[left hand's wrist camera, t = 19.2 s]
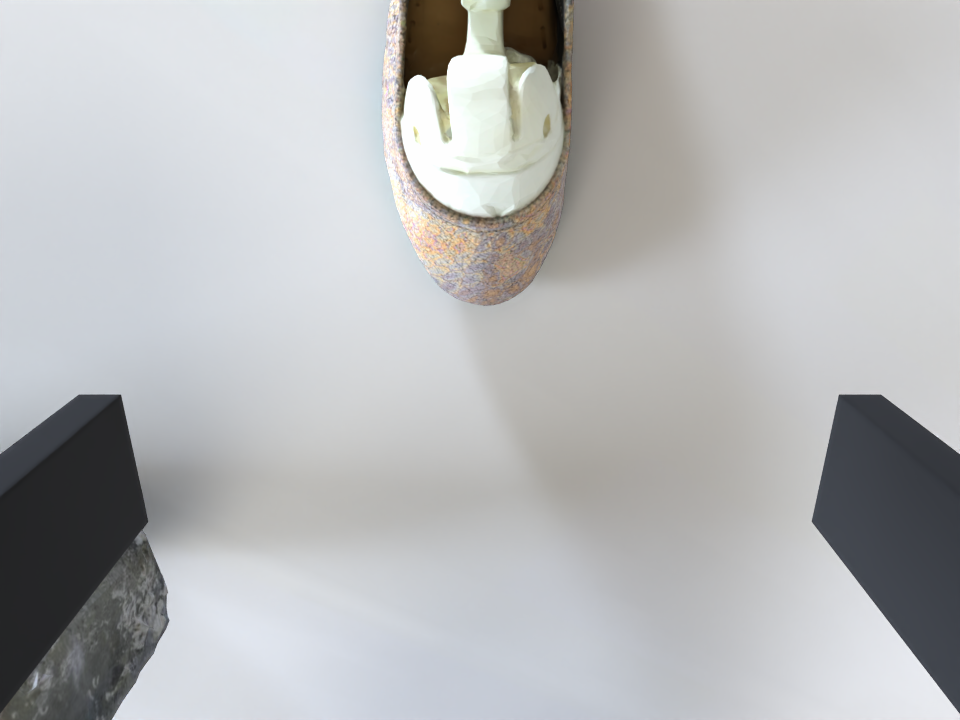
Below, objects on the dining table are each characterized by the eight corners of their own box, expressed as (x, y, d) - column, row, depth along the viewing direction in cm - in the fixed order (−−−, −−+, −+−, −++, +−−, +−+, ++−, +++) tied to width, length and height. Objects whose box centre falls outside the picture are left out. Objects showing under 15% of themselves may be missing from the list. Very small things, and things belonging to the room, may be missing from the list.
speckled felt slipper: (398, 298, 34) (374, 359, 26) (356, -349, 25) (301, -546, 17) (565, 295, 34) (591, 355, 26) (584, -354, 25) (632, -555, 17)
